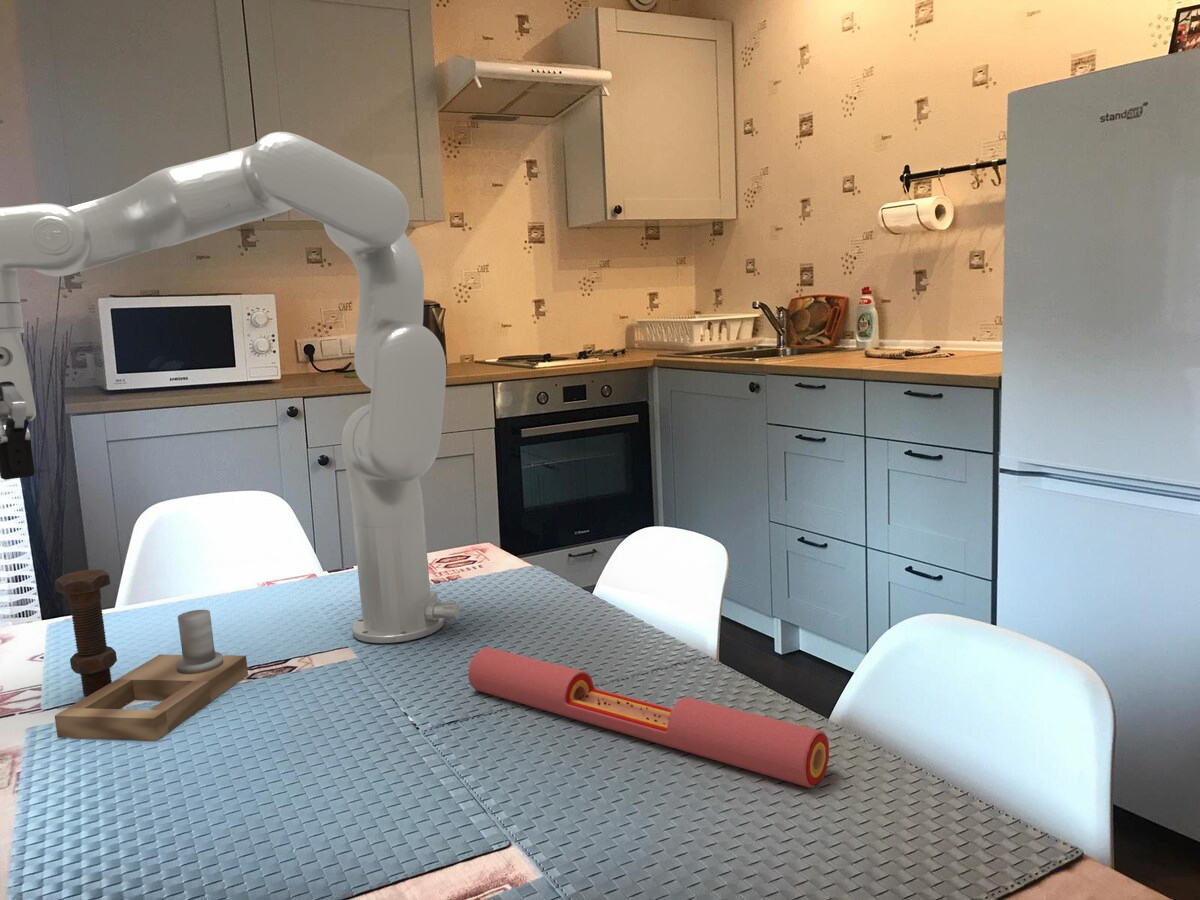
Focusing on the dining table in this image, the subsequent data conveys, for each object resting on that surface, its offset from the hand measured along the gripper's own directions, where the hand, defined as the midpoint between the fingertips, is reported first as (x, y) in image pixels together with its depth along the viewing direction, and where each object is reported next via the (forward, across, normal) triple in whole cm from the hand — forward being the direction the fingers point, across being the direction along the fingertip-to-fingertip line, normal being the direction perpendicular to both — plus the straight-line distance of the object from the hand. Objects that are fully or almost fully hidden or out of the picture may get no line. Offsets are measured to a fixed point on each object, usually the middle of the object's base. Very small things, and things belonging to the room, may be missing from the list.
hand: (3, 474), depth 106 cm
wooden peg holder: (+28, -11, -10) cm, 32 cm away
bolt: (+28, -2, -6) cm, 29 cm away
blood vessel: (+28, -60, -36) cm, 76 cm away
